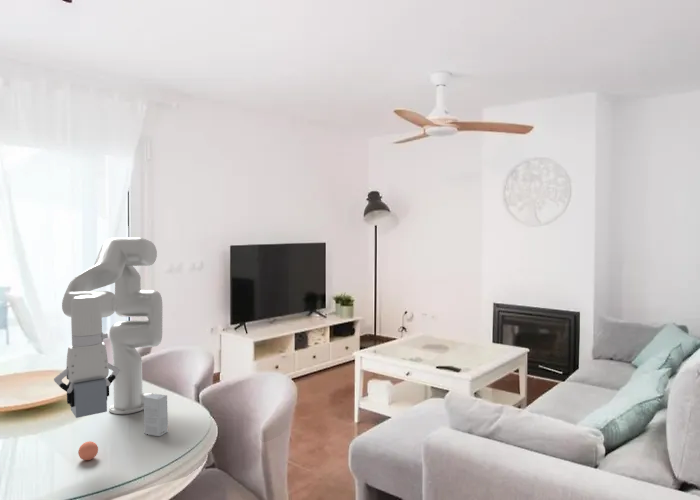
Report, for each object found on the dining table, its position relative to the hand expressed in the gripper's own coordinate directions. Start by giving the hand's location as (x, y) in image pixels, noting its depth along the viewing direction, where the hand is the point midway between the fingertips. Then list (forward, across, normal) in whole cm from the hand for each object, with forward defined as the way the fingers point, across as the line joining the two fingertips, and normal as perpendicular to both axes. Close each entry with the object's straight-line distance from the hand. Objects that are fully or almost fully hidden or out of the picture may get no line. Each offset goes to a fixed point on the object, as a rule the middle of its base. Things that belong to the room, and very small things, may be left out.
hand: (88, 402), depth 145 cm
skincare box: (+17, -21, -9) cm, 29 cm away
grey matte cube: (+2, 0, 0) cm, 2 cm away
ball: (+15, 0, -2) cm, 15 cm away
